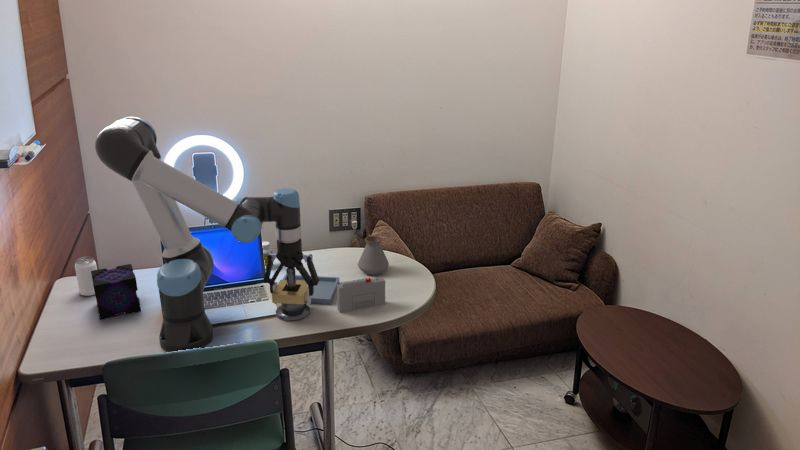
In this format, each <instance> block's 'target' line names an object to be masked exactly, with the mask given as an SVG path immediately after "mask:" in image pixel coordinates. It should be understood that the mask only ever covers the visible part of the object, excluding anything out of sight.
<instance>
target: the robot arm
mask: <svg viewBox="0 0 800 450" xmlns="http://www.w3.org/2000/svg"><path fill="white" fill-rule="evenodd" d="M157 140H158V138H157V132H156V130H155V128H154V127H153V126H152V124H151V123H149V122H148V121H147V120H145V119H144V118H141V117H137V116H127V117H124V118H120V119H117V120H116V121H114V122H113V123H112V124H110V125H108V126H106V127H105V128H103V129H102V130H101V131H100V132H99V133H98V134H97V136H96V139H95V144H94V147H95V151H96V155H97V157H98V159H99V160H100V161H101V163H102V164H103V165H105V166H106V167H107V168H108V169H110V170H111V171H113V172H114V173H116V174H117V175H119V176H121V177H123V178H125V179H126V180H128V181H130V182H131V183H132V184H133V187H134V188H135V190H136V193H137V195H138V196H139V198H140V201H141V203H142V205H143V206H144V208H145V211H146V212H147V215H148V217H149V219H150V222H151V224H152V226H153V227H154V229H155V231H156V233H157V235H158V237H159V240H160V242H161V243H162V245H163V248H164V249H163V251H162V258H163V260H164V262H165V263H164V264H163V265H162V266H161V267H160V268H159V269H158V271H157V275H156V277H157V278H156V284H157V288H158V294H159V300H160V302H159V303H160V308H161V313H162V322H161V327H160V331H159V335H158V337H159V344H160V347H161V348H162V349H163V350H165V351H167V352H169V351H178V350H186V349H193V348H199V347H202V348H204V347H206V346H207V345H208V344H210V343H211V342H212V341H213V339H214V337H215V334H214V333H215V332H214V327H213V325H212V323H211V321H210V319H209V317H208V315H207V314H206V309H205V300H204V291H205V287H206V285H207V283H208V280H209V279H210V277H211V275H212V272H213V270H214V258H213V254H212V253H211V251H210V250H209V249H208V247H206V246H203V244H202V241H201V240H200V238H197V237H195V236H193V235H192V234H191V230H190V229H189V226H188V224H187V222H186V220H185V218H184V216H183V213H182V211H181V209H180V207H179V204H181V205H183V206H184V207H186V208H188V209H190V210H193V212H196V213H197V214H199V215H201V216H203V217H205V218H207V219H209V220H211V221H213V222H214V223H216V224H218V225H220V226H222V227H223V228H225V229H227V230H228V231H230V232H231V233H232V236H233V237H234V239H235V240H236V241H237V242H239V243H243V244H249V243H253V242H254V241H255V240H256V239H257V238H258V237H259V235H260V233H261V232H262V228H263V223H273V222H275V235H276V239H277V240H276V250H277V252H276V253H274V252H273V251H272V252H270V253H269V255H268V256H267V258H268V264H267V268H266V269H265V272H264V277H263V283H264V284H268V285H269V292H270V294H272V293H273V291H274V290H275V288H276V287H277V285H278V281H276V280H277V278H278V276H279V275H280V273H281V272H282V270H283V267H284V268H288V267H292V268H295V270H297V271H298V272H299V275H301V276H302V277H303V279H304V280H305V282H306V283H307V287H306V296H307V303H306V305H307V306H309V307H310V305H311V304H310V303H311V296H312V295H313V293H314V286H317V285H318V283H319V278H318V276H319V275H318V273H317V271H316V267H315V264H314V262H313V254H312V253H310V254H304V253H303V247H302V243H303V242H302V227H301V224H302V223H301V203H300V194H299V192H298V191H297V190H296V189H294V188H287V187H285V188H279V189H276V190H274V192H273V196H249V197H248V196H243V197H236V198H234V200H232V199H230V198H229V197H227V196H225V195H223V194H221V193H220V192H218V191H216V190H214V189H212V188H210V187H209V186H207V185H205V184H203V183H202V182H200V181H199V180H197V179H194V178H193V177H192V176H190V175H188V174H186V173H185V172H182V171H181V170H178V169H176V168H175V167H173V166H171V165H170V164H168V163H167V162H165V161H163V160H162V155H161V153H160V150H159V148H158V146H157ZM178 203H179V204H178ZM276 259H277V260H278V261H279V264H278V267H277V268H276V270H275V271H274V274H273V275H272V277H271V274H272V269H273V267H274V261H275V260H276ZM302 260H304V262H305V263H306V266H307V268H308V270H307V269H306V268H305V266H304V264H303V262H302ZM272 266H273V267H272ZM308 271H309V272H308ZM310 276H311V277H310ZM277 304H278V303H273V305H277Z"/></svg>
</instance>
